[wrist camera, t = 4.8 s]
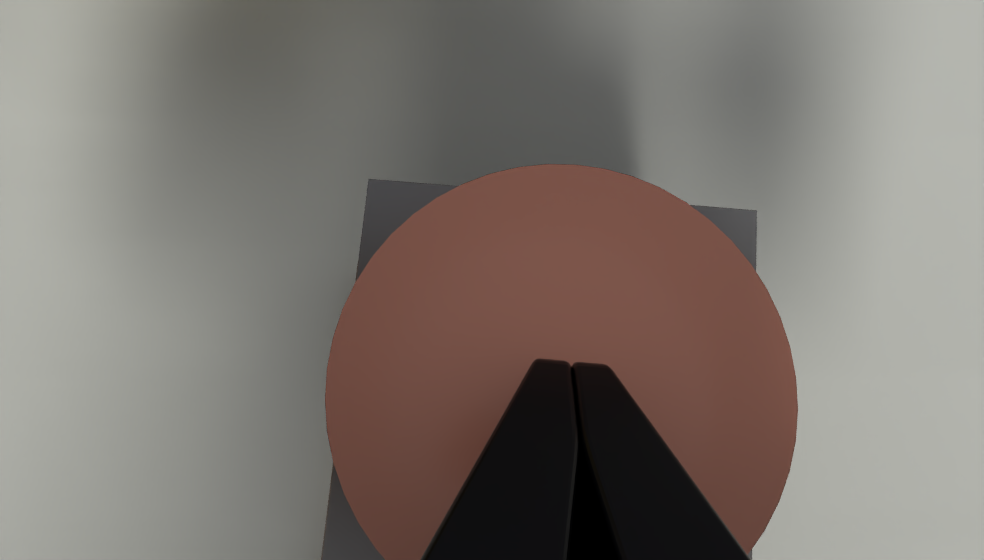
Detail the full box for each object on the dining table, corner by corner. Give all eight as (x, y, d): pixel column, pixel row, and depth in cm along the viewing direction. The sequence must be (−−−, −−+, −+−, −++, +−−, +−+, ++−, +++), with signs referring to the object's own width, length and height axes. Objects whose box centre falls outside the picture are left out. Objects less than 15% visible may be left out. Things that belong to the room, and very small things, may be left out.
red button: (668, 554, 13) (796, 665, 7) (376, 528, 13) (295, 619, 7) (679, 267, 14) (798, 182, 8) (408, 245, 14) (355, 146, 8)
